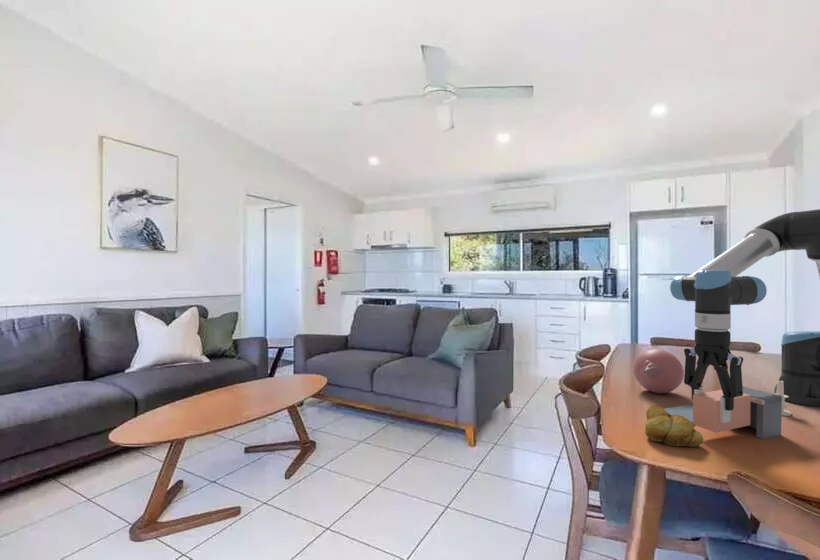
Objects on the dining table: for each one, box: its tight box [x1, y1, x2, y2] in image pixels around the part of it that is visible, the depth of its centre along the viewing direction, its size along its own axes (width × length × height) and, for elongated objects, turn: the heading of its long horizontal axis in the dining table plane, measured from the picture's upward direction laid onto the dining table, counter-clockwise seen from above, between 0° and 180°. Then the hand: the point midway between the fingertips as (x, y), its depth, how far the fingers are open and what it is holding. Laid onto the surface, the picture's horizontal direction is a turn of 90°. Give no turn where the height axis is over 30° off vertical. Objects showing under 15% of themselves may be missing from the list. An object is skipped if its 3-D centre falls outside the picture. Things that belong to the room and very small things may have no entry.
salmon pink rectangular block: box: [692, 389, 751, 434], centre depth 110 cm, size 13×6×8 cm, turn 110°
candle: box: [776, 379, 792, 417], centre depth 128 cm, size 5×5×10 cm
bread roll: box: [644, 404, 704, 448], centre depth 107 cm, size 13×10×8 cm
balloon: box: [633, 348, 685, 394], centre depth 148 cm, size 15×20×15 cm
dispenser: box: [719, 385, 783, 440], centre depth 114 cm, size 8×10×10 cm
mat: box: [663, 404, 693, 423], centre depth 125 cm, size 18×11×1 cm, turn 110°
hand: (711, 417), depth 109 cm, fingers closed on salmon pink rectangular block, 6 cm apart
